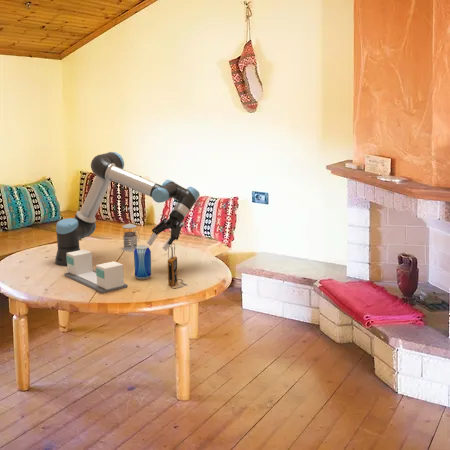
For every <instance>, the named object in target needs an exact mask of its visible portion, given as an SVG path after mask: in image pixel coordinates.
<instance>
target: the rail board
mask: <svg viewBox="0 0 450 450" xmlns="http://www.w3.org/2000/svg"><path fill="white" fill-rule="evenodd" d="M66 254H67V256H66V259H67V268H66V269H67V272H65V273H63V274H64V275H65V276H64V275H63V276H64V277H66V276H67V277H66V278H69V279H71V280H73V281H75V282H77V283H79V284H82V285H84V286H86V287H88V288H90V289H92V290H94V291H96V292H99V293H101V294H105V293H110V292H113V291H117V290H120V289H124V288H128V284H126V283H125V280H124V278H125V277H124V264H122V263H120V262H117V261H115V260H114V261H113V260H112V261H108V262H104V263H100V264H96V265H95V268H96V269H95V270H94V269H93V253H92V252H91V251H89V250H86V249H80V250H78V251H73V252H68V253H66Z"/></svg>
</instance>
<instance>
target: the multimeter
mask: <svg viewBox="0 0 450 450" xmlns="http://www.w3.org/2000/svg"><path fill="white" fill-rule="evenodd" d="M173 245H174V250H173ZM170 249H171V256H169V255H170V252H169V251H170ZM167 251H168V252H167V255H168V256H167V257H168V259H167V280H168V281H167V282H168V283H167V285H168V286H170V288H171V289H180V288H182V287H183V286H188V287H189V285H188V284H187V283H184V280H183V279H179V278H178V256H176V253H175V252H176V244H173V243H172V244H171V245H170V246H169V248H168V249H167ZM178 281H181V284H182V285H181V286H177V287H174V286H175V285H176V284H177V283H178Z"/></svg>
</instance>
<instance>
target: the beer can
mask: <svg viewBox="0 0 450 450" xmlns="http://www.w3.org/2000/svg"><path fill="white" fill-rule="evenodd" d="M151 253H152V252H151V249H150V245H146V244H145V245H144V244H142V245H141V244H140V245H137V246H136V249H135V250H134V251H133V263H134V265H133V266H134V277H135V278H136V279H138V280H147V279H148V280H149V279H151V276H152V254H151Z"/></svg>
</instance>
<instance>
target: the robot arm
mask: <svg viewBox="0 0 450 450" xmlns="http://www.w3.org/2000/svg"><path fill="white" fill-rule="evenodd" d="M124 167H125V161H124V158H123V157H122V155H121V154H120V153H118V152H115V151H109V152H106V153H102V154H98V155H95V156H94V157H93V158H92V160H91V162H90V169H91V171H92V173H93V174H94V175H95V176H94V180H93V182H92V184H91V186H90V188H89V191H88V193H87V196H86V197H85V200H84V202H83V204H82V207H81V208H80V210H78V211H76V213H75V216H74V217H68V218H63V219H61V220H59V221H57V222H56V228H55V231H56V241H57V242H56V244H57V251H56V255H55V258H54V260H55V264H56V265H57V264H58V265H57V266H63V267H64V266H65V267H66V266H67V259H66V256H67V254H66V253H68V252H73V251H78V250H81V248H80V240H82V239H84V238H88V237H89V236H91V235H92V234H93V233H94V232H95V231H96V227H97V224H96V222H97V219H96V215H97V213H98V210H99V209H100V206H101V204H102V203H103V200H104V197H105V195H106V194H107V193H106V192H107V191H108V188H109V186H110V185H111V182H115V183H117V184H119V185H122V186H124V187H126V188H129V189H131V190H134V191H136V192H139V193H141V194H143V195H145V196H147V197H150V198H152V199H153V201H154V202H155V203H157V204H159V203H164V202H167V201H168V200H171V199H174V200H175V201H177V203H176V204H175V206H174V207H173V210H171V212H170V213H169V214H168V215H169V218H168V219H167V218H166V217H164V218H163V220H162V221H160V222H159V223H158V224H157V225H156V226H155V227H153V228H152V229H151V231H152V234H151V235H150V237H149V238H148V240H147V241H146V244H147V245H148V246H149V247H150V246H152V245H153V243H154V242H155V240H156V239H157V238H158V237H159V234H161V233H162V232H164V231H165V230H170V236H169V237H168V238H167V240H166V241H165V243H164V244H163V246H162V249H163V250H164V251H168V248H169V249H170V247H169V246H171V244H172V245H173V242H174V241H178V240H179V238H180V233H181V230H182V228H183V226H184V225H183V222H184V220H185V218H186V217H187V215H188V214H189V212H190V211H191V210H192V208H193V207H194V206H195V204H196V202H197V201H198V199H199V198H200V195H201V194H200V192H199V191H198V189H196V188H195V187H193V186H188V187H187V188H185V187H183V186H182V185H180V184H178V183H176V182H174V181H173V180H170V179H165V181H163V183H162V184H159V183H157V182H154V181H153V180H150V179H147V178H144V177H142V176H141V175H137V174H134V173H133V172H131V171H128V170H126V169H124Z"/></svg>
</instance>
